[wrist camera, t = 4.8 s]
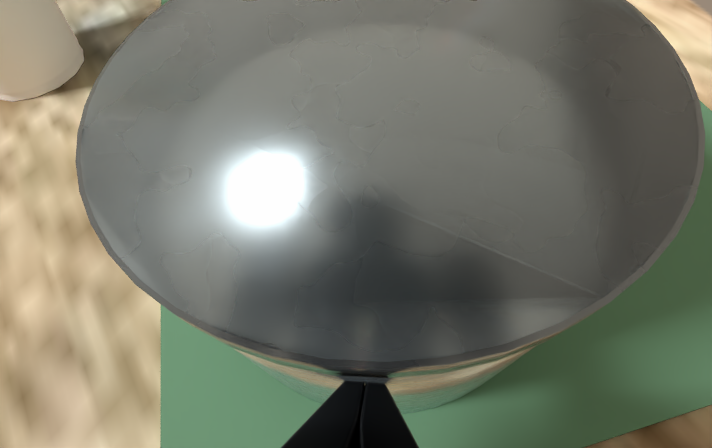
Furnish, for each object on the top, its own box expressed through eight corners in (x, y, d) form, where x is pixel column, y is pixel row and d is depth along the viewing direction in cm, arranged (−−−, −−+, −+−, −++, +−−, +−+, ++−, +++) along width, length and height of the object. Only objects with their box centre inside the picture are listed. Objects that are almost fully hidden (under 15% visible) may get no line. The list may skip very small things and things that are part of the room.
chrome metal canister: (619, 353, 14) (906, 228, 6) (237, 473, 13) (17, 500, 5) (462, 101, 21) (507, -98, 14) (209, 162, 20) (102, -19, 12)
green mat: (943, 325, 14) (950, 324, 14) (163, 587, 12) (160, 589, 11) (503, -71, 32) (504, -74, 32) (162, -2, 30) (161, -5, 29)
